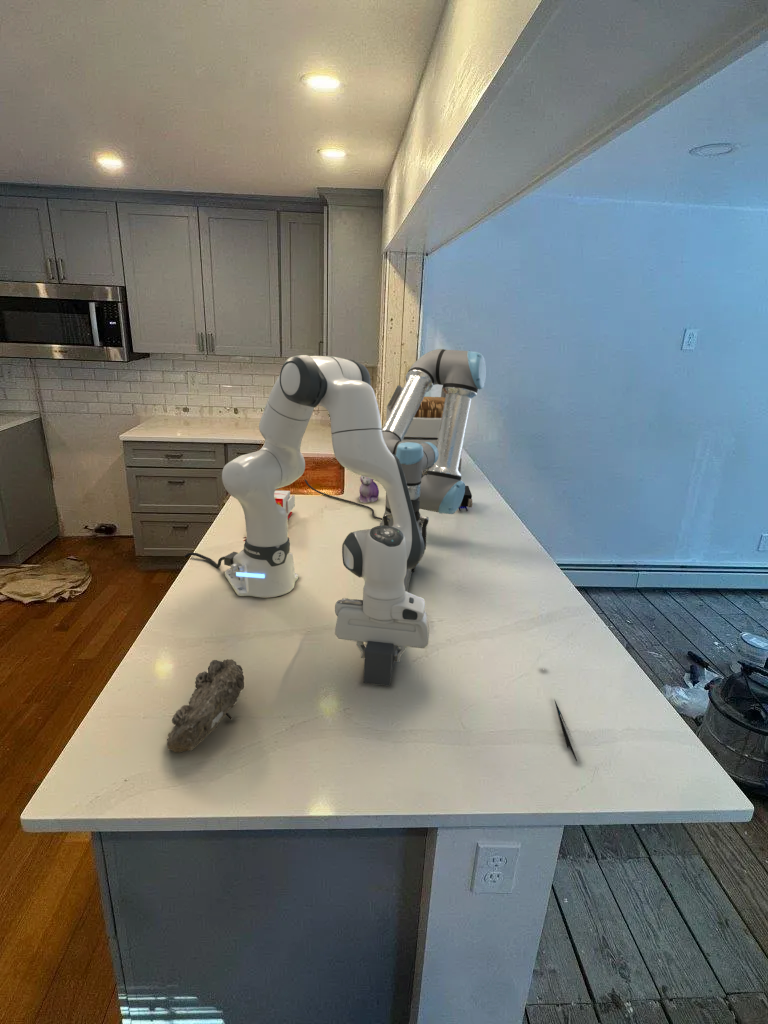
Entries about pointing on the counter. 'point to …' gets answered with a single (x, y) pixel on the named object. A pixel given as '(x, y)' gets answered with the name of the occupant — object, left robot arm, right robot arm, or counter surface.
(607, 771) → the counter surface
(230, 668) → the fossil
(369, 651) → the post
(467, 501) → the figurine character
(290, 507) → the toy
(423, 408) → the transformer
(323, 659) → the counter surface
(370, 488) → the figurine
